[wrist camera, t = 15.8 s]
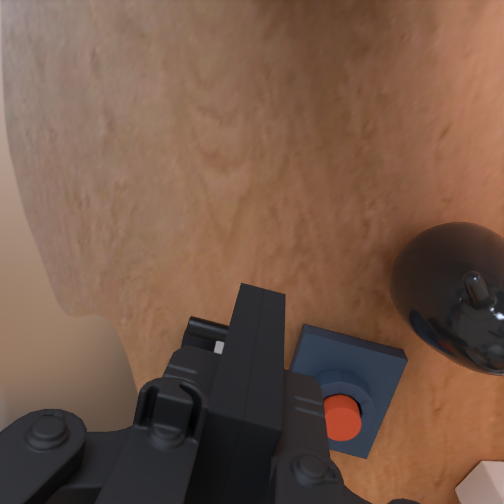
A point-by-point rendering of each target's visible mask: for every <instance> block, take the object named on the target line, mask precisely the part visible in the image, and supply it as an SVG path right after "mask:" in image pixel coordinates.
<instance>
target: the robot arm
mask: <svg viewBox="0 0 504 504" xmlns="http://www.w3.org/2000/svg"><path fill="white" fill-rule="evenodd" d="M285 295H286V294H282V293H278V292H275V291H271V290H267V289H263V288H259V287H256V286H252V285H248V284H244V283H241V286H240V289H239V293H238V296H237V300H236V303H235V307H234V311H233V314H232V318H231V321H230V325H229V329H228V332H227V336H226V339H225V343H224V346H223V350H222V354H219V353H215V352H211V351H208V350H204V349H200V348H196V347H193V346H189V345H185V346H183V347H182V348H180V349H179V350H177V351H176V352H174V353H173V355H172V357H171V359H170V361H169V363H168V366H167V368H166V370H165V372H164V374H163V377H162V378H156V379H154V380H152V381H149V382H147V383H146V384H145V385H144V386H143V387H142V388H141V389H140V392H139V397H138V402H137V407H136V412H135V417H134V422H133V425H132V426H130V427H128V428H126V429H122V430H118V431H111V432H87V428H86V426H85V425H84V423H83V421H82V419H80V418H79V417H77V416H76V415H75V414H73V413H71V412H68V411H64V410H61V409H43V410H39V411H34V412H30V413H28V414H27V415H25V416H23V417H21V418H19V419H17V420H16V421H14V422H13V423H12V424H10V425H9V426H8V427H6V428H5V429H4V430H2V431H1V432H0V504H372V503H370V502H368V501H366V500H364V499H362V498H361V497H359V496H358V495H356V494H355V493H353V492H352V491H351V490H349V489H348V488H347V487H346V486H345V485H344V481H343V478H342V475H341V472H340V470H339V468H338V467H337V466H336V465H335V463H334V462H333V461H332V460H331V459H330V452H329V443H328V435H327V426H326V418H325V408H324V400H323V391H322V389H321V388H320V386H319V385H318V383H317V381H316V380H315V378H314V377H311V376H308V375H304V374H300V373H296V372H292V371H289V370H285V369H284V335H285ZM388 504H420V503H418V502H416V501H412V500H408V499H404V498H402V499H395V500H391V501H390V502H389V503H388Z"/></svg>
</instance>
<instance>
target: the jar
mask: <svg viewBox="0 0 504 504" xmlns="http://www.w3.org/2000/svg"><path fill="white" fill-rule="evenodd" d="M455 492H456V494H457V496H458V499H459V501H460V503H461V504H504V462H502V461H481V462H480V463H479V464H478V465H477V466H476V467H475V468H474V469H473V470H472V471H471V472H470V473H469V474H468V475H467V477H466V478H465V479H464V480H463V481H462V482H461V483H460V484H459V485H458V486H457V487H456V488H455Z"/></svg>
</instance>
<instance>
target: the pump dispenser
mask: <svg viewBox="0 0 504 504" xmlns="http://www.w3.org/2000/svg"><path fill="white" fill-rule="evenodd" d="M390 293H391V298H392V301H393V304H394V306H395V308H396V310H397V312H398V314H399V315H400V317H401V318H402V320H403V321H404V322H405V323H406V325H407V326H408V327H409V328H410V329H411V330H412V331H413V332H414V333H415V334H416V335H417V336H418V337H419V338H420V339H421V340H422V341H424V342H425V343H426V344H427V345H429V346H430V347H431V348H432V349H434V350H435V351H437V352H438V353H440V354H441V355H443V356H444V357H446V358H448V359H449V360H451V361H453V362H454V363H456V364H458V365H460V366H462V367H465V368H467V369H470V370H472V371H475V372H478V373H482V374H487V375H494V376H504V238H503V237H501V236H500V235H499V234H497V233H496V232H494V231H492V230H490V229H488V228H486V227H484V226H481V225H478V224H473V223H467V222H453V223H446V224H441V225H438V226H435V227H432V228H430V229H428V230H426V231H424V232H422V233H420V234H419V235H417V236H416V237H415V238H413V239H412V240H411V241H410V242H409V243H408V244H407V245H406V246H405V247H404V248H403V250H402V251H401V252H400V254H399V255H398V257H397V259H396V261H395V263H394V265H393V268H392V272H391V276H390Z"/></svg>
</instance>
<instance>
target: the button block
mask: <svg viewBox="0 0 504 504" xmlns="http://www.w3.org/2000/svg"><path fill="white" fill-rule="evenodd" d="M407 361H408V359H407V357H406V355H405V353H404V350H401V349H397V348H393V347H390V346H386V345H382V344H378V343H374V342H371V341H367V340H363V339H359V338H355V337H352V336H348V335H344V334H340V333H337V332H333V331H329V330H325V329H321V328H318V327H314V326H310V325H306V324H304V326H303V329H302V332H301V335H300V338H299V341H298V344H297V347H296V350H295V354H294V357H293V360H292V363H291V366H290V369H289V371H292V372H296V373H300V374H304V375H308V376H311V377H314V378H315V380H316V381H317V383H318V385H319V386H320V388H321V389H322V391H323V400H325V399H326V398H327V397H329V396H331V395H335V394H343V395H347V396H349V397H351V398H352V399H353V400H354V401H355V402H356V403H357V406H358V409H359V413H360V418H361V423H362V425H361V429H360V432H359V433H358V434H357V435H356V436H355V437H354V438H352V439H350V440H347V441H336V440H333V439H331V438H329V437H328V443H329V449H331V450H334V451H338V452H342V453H346V454H349V455H353V456H357V457H361V458H365V459H367V457H368V454H369V452H370V450H371V447H372V445H373V442H374V440H375V438H376V435H377V433H378V430H379V428H380V426H381V423H382V421H383V418H384V416H385V414H386V411H387V409H388V406H389V404H390V402H391V399H392V397H393V394H394V392H395V390H396V387H397V385H398V382H399V380H400V378H401V375H402V373H403V370H404V368H405V366H406V363H407Z"/></svg>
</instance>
